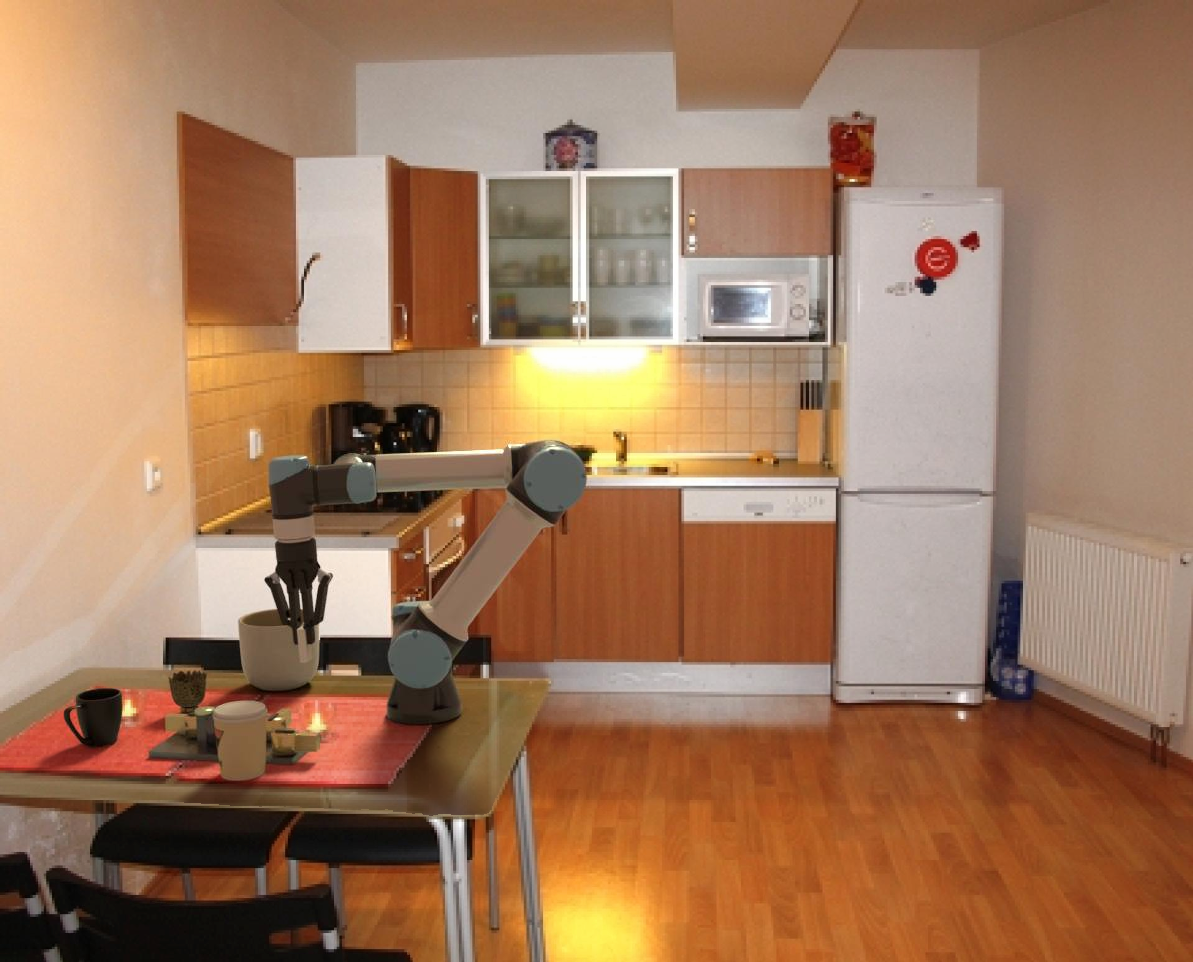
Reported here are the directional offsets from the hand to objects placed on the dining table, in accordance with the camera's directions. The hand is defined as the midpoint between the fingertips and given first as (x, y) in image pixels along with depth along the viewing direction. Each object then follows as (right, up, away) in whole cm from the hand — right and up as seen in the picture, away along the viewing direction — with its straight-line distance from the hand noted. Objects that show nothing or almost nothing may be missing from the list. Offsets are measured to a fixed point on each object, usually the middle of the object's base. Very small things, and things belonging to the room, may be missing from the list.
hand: (306, 660), depth 249 cm
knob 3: (0, -15, -8) cm, 18 cm away
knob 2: (-6, -14, +2) cm, 15 cm away
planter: (-14, -11, +38) cm, 42 cm away
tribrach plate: (-13, -16, -2) cm, 21 cm away
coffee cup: (-8, -18, -15) cm, 25 cm away
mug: (-41, -16, +1) cm, 44 cm away
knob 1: (-23, -14, +2) cm, 27 cm away
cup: (-28, -14, +20) cm, 37 cm away
